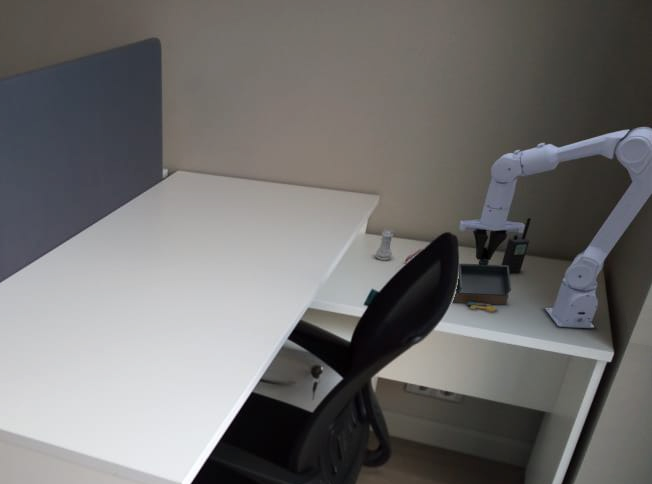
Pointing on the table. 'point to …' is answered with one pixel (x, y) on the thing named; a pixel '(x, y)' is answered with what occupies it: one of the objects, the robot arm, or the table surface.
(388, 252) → the rook chess piece
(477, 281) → the dark grey tray
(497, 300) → the stand
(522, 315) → the table surface
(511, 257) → the walkie-talkie
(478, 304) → the teal key
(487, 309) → the brass key
